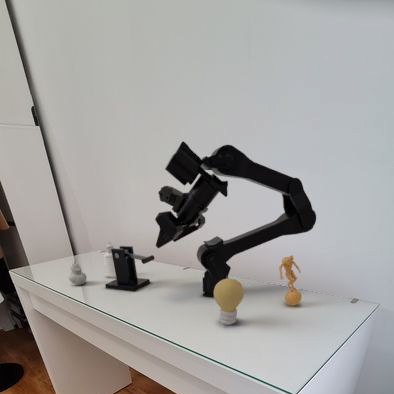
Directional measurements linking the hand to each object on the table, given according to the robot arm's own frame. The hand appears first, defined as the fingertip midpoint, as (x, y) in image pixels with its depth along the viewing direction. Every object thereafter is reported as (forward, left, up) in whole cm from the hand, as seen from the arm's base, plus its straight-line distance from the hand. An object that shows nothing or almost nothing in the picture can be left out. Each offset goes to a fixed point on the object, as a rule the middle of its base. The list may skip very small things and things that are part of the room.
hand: (165, 243), depth 80 cm
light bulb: (-22, +20, -14) cm, 32 cm away
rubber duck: (+33, -1, -14) cm, 36 cm away
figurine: (-35, +6, -14) cm, 38 cm away
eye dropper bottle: (+25, -11, -14) cm, 31 cm away
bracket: (+15, -2, -13) cm, 20 cm away
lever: (+11, -2, -5) cm, 13 cm away
